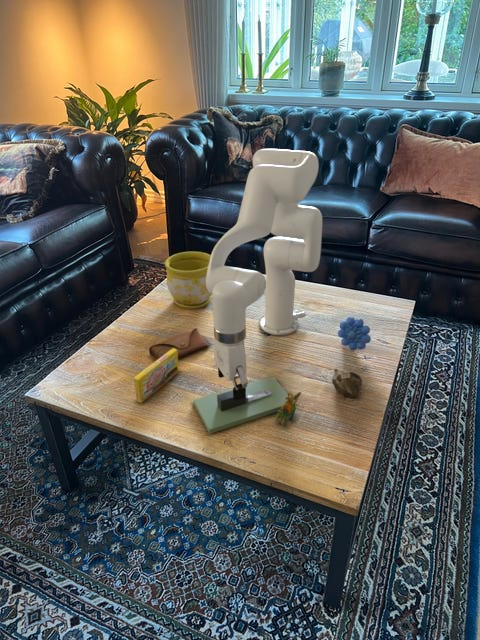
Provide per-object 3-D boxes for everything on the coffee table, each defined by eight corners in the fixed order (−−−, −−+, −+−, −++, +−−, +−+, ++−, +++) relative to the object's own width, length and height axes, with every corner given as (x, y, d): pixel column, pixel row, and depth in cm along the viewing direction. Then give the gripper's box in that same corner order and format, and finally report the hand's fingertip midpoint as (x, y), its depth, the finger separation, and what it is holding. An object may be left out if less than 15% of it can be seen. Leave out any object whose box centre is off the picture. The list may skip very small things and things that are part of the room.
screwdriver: (221, 411, 114) (220, 401, 112) (217, 405, 116) (217, 394, 114) (273, 395, 119) (273, 384, 117) (269, 389, 121) (269, 379, 119)
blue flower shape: (375, 352, 138) (381, 320, 131) (362, 361, 134) (368, 328, 128) (345, 337, 145) (350, 305, 139) (332, 344, 141) (336, 312, 135)
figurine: (270, 429, 110) (271, 405, 106) (294, 403, 118) (296, 379, 114) (281, 435, 108) (282, 410, 104) (305, 407, 117) (307, 383, 112)
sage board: (272, 379, 127) (272, 375, 126) (293, 406, 117) (294, 401, 116) (193, 403, 118) (193, 399, 117) (209, 434, 109) (209, 429, 108)
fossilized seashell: (328, 368, 127) (327, 396, 119) (343, 356, 123) (343, 383, 115) (349, 380, 128) (350, 407, 121) (365, 368, 124) (366, 396, 117)
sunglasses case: (163, 366, 131) (155, 346, 131) (154, 367, 137) (146, 347, 136) (211, 344, 141) (204, 325, 140) (201, 345, 147) (194, 327, 146)
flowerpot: (175, 288, 175) (172, 250, 167) (220, 291, 173) (219, 252, 165) (163, 311, 160) (158, 270, 152) (211, 314, 158) (209, 273, 149)
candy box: (142, 404, 118) (138, 380, 114) (136, 401, 119) (132, 377, 115) (179, 372, 130) (177, 349, 126) (174, 369, 131) (171, 347, 127)
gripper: (202, 317, 109) (206, 371, 119) (229, 356, 96) (231, 413, 105) (230, 311, 112) (231, 364, 121) (260, 347, 99) (259, 403, 108)
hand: (231, 386), depth 113 cm, fingers open, 9 cm apart
